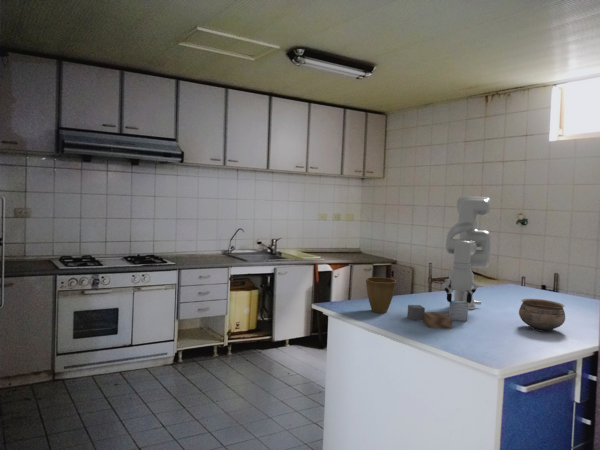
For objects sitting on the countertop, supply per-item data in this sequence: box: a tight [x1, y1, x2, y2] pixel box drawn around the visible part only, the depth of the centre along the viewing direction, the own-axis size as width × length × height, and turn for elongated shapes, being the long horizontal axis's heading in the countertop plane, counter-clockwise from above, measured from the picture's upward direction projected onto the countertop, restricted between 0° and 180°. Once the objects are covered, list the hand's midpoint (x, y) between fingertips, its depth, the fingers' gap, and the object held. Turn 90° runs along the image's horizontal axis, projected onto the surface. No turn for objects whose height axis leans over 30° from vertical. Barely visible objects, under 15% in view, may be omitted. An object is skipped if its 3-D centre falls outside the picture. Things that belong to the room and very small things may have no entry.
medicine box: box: [448, 300, 469, 322], centre depth 230 cm, size 8×4×9 cm, turn 84°
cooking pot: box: [518, 298, 566, 332], centre depth 218 cm, size 25×19×12 cm
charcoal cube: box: [406, 304, 426, 322], centre depth 227 cm, size 6×6×6 cm
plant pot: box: [365, 276, 397, 314], centre depth 238 cm, size 15×15×16 cm
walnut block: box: [422, 311, 453, 330], centre depth 217 cm, size 10×10×5 cm
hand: (458, 302), depth 229 cm, fingers open, 9 cm apart
